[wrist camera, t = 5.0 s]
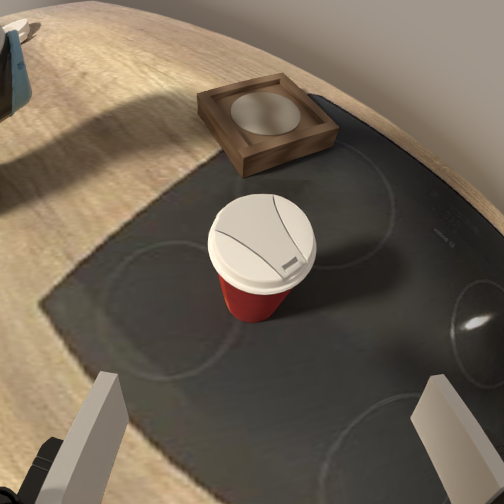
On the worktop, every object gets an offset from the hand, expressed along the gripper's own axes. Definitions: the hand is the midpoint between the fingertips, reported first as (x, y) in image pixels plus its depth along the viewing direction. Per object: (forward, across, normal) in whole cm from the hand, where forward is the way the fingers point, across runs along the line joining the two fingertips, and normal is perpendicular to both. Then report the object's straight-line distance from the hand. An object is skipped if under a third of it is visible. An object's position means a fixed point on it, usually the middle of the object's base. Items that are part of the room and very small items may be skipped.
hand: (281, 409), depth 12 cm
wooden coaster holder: (+40, +1, +13) cm, 42 cm away
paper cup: (+22, 0, -6) cm, 23 cm away
